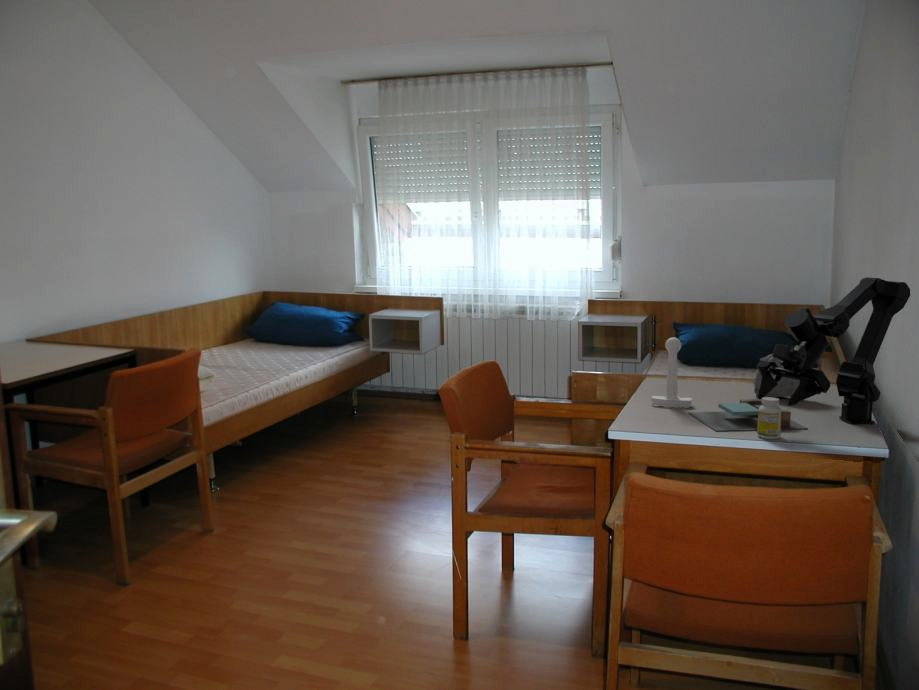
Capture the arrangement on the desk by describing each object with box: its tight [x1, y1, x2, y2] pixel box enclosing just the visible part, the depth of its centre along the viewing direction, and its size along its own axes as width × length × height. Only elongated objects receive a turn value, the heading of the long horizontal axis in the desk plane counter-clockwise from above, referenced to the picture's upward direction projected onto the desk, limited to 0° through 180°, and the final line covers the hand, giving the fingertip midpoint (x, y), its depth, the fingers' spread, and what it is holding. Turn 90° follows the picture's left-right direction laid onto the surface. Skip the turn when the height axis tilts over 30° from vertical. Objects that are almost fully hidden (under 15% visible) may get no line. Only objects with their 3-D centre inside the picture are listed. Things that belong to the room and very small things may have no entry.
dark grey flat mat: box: [688, 398, 808, 433], centre depth 213 cm, size 24×20×4 cm
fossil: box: [753, 353, 815, 398], centre depth 240 cm, size 17×7×15 cm, turn 69°
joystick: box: [650, 336, 693, 409], centre depth 232 cm, size 11×8×20 cm
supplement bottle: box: [756, 397, 783, 440], centre depth 197 cm, size 5×5×10 cm
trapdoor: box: [718, 402, 763, 416], centre depth 213 cm, size 14×10×3 cm
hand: (773, 401), depth 197 cm, fingers open, 9 cm apart
